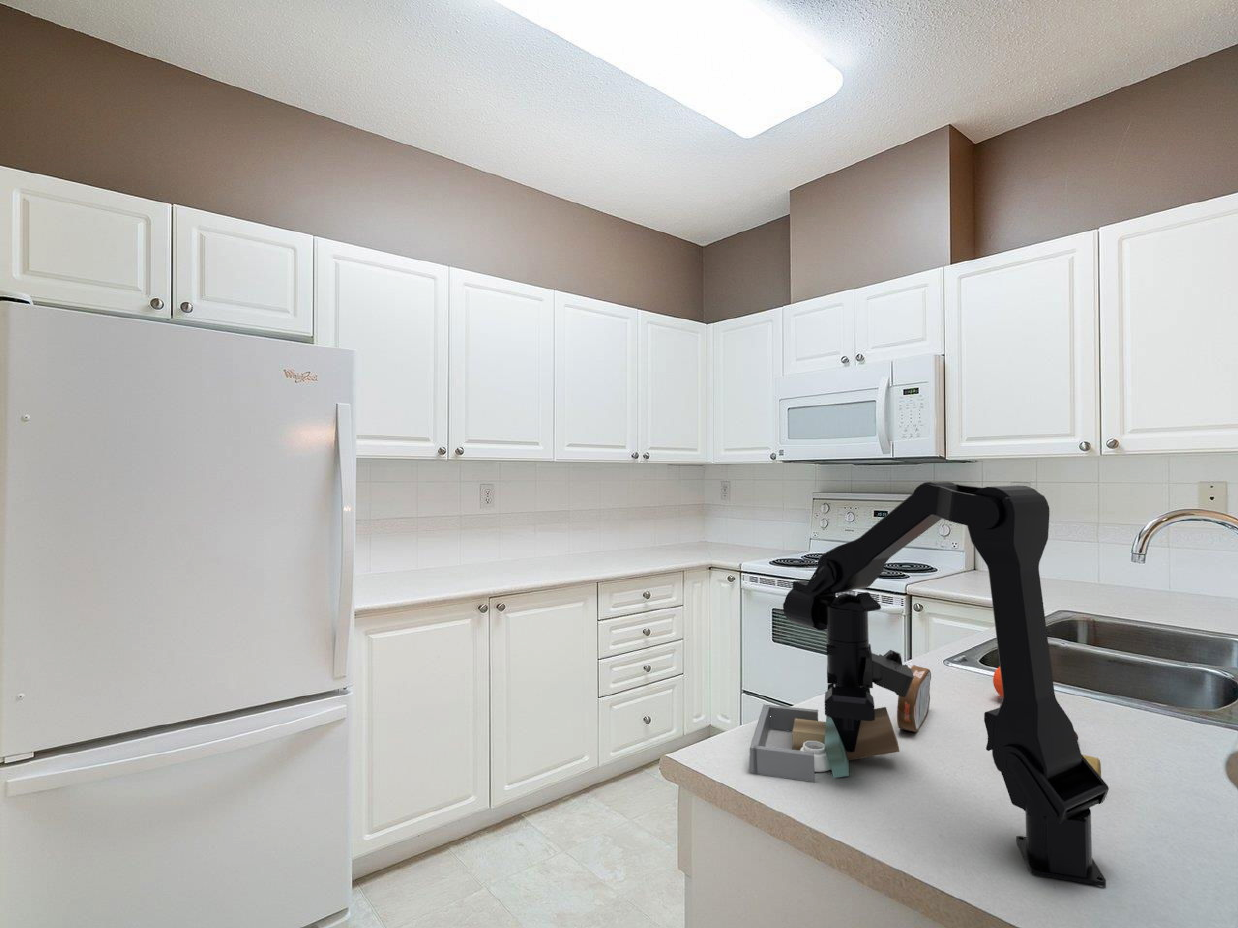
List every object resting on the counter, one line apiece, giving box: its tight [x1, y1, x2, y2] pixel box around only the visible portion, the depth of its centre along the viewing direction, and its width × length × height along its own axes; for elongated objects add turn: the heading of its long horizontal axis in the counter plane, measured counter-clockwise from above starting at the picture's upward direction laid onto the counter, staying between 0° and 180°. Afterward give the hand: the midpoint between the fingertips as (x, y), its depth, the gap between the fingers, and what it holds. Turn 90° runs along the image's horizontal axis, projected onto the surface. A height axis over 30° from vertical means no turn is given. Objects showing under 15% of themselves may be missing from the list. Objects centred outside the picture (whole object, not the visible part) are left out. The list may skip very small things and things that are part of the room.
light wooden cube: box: [792, 719, 826, 751], centre depth 96 cm, size 5×5×3 cm
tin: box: [896, 664, 932, 733], centre depth 104 cm, size 15×3×8 cm, turn 145°
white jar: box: [800, 741, 832, 773], centre depth 90 cm, size 5×3×5 cm
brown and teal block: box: [824, 706, 900, 779], centre depth 91 cm, size 13×9×5 cm
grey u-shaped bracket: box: [749, 704, 819, 783], centre depth 94 cm, size 17×8×4 cm, turn 161°
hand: (850, 745), depth 92 cm, fingers closed on brown and teal block, 3 cm apart
